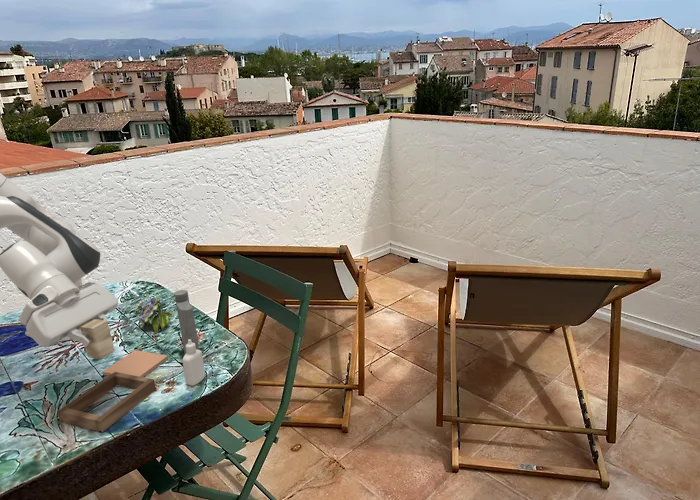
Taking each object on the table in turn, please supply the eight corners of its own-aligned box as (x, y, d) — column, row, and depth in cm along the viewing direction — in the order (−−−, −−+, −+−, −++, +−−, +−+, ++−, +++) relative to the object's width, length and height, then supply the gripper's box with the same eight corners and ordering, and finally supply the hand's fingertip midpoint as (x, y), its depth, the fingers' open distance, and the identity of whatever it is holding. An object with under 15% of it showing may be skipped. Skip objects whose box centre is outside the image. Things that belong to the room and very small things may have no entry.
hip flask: (202, 365, 129) (191, 300, 122) (187, 369, 127) (175, 303, 121) (195, 341, 142) (185, 281, 136) (181, 344, 141) (171, 284, 135)
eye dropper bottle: (182, 380, 121) (175, 340, 118) (203, 372, 125) (196, 333, 121) (188, 387, 118) (181, 346, 115) (209, 379, 122) (203, 339, 118)
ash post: (88, 357, 107) (79, 326, 105) (102, 348, 111) (94, 319, 108) (101, 359, 106) (93, 328, 103) (114, 350, 109) (107, 320, 107)
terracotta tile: (103, 374, 126) (102, 371, 126) (135, 353, 137) (135, 350, 136) (137, 381, 122) (136, 378, 122) (168, 358, 133) (167, 355, 132)
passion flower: (147, 341, 155) (133, 310, 156) (179, 327, 159) (165, 297, 161) (145, 336, 145) (130, 302, 146) (178, 321, 149) (163, 289, 151)
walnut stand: (60, 421, 107) (57, 410, 106) (117, 381, 122) (114, 371, 121) (102, 432, 103) (99, 421, 102) (156, 389, 118) (154, 379, 117)
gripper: (89, 287, 118) (127, 325, 118) (11, 323, 99) (56, 368, 99) (98, 272, 115) (137, 310, 115) (20, 306, 97) (66, 352, 96)
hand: (99, 337), depth 107 cm, fingers closed on ash post, 4 cm apart
